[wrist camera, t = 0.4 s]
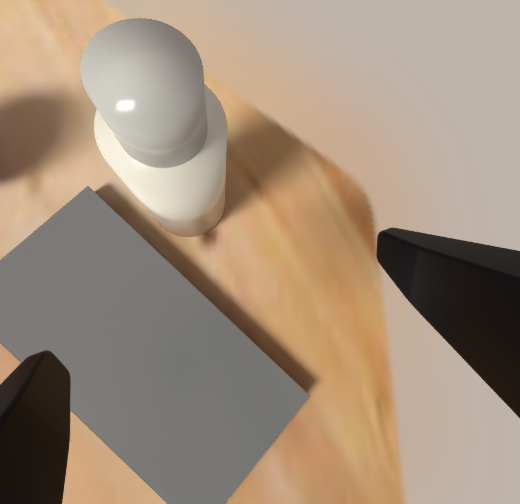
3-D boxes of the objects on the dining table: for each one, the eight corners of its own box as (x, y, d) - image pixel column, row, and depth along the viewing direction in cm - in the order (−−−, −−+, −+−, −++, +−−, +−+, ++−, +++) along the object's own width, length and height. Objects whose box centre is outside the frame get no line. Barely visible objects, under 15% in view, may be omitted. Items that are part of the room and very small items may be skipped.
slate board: (305, 391, 20) (309, 396, 19) (201, 522, 18) (200, 534, 17) (94, 191, 21) (87, 185, 20) (-32, 298, 19) (-46, 298, 18)
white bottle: (239, 201, 22) (262, 76, 10) (188, 252, 21) (140, 185, 9) (188, 153, 22) (145, -33, 10) (134, 201, 21) (10, 62, 9)
